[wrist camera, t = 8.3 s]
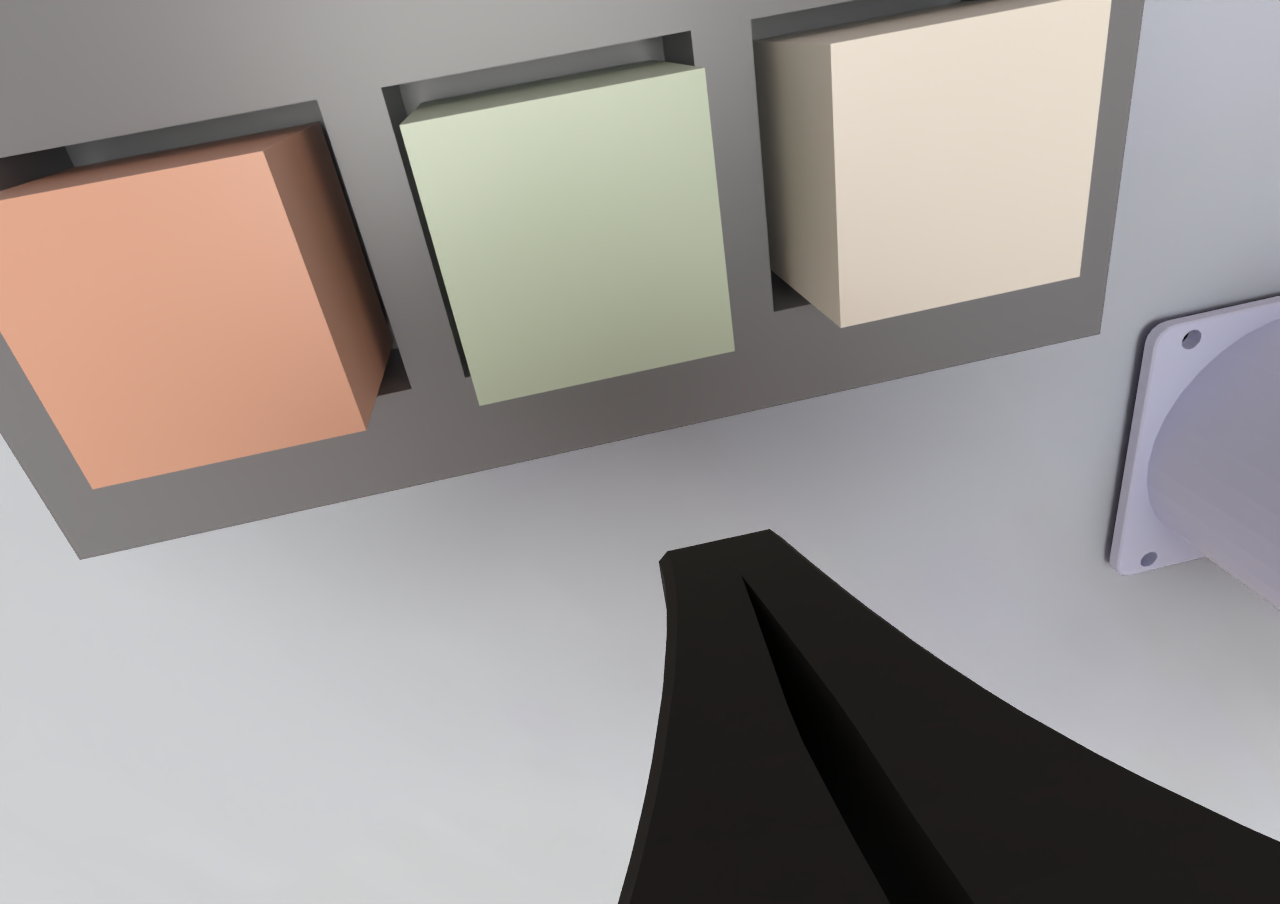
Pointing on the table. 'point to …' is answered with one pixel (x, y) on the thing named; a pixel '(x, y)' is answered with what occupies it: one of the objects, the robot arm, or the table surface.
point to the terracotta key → (192, 304)
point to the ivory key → (930, 153)
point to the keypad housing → (401, 241)
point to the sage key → (576, 225)
